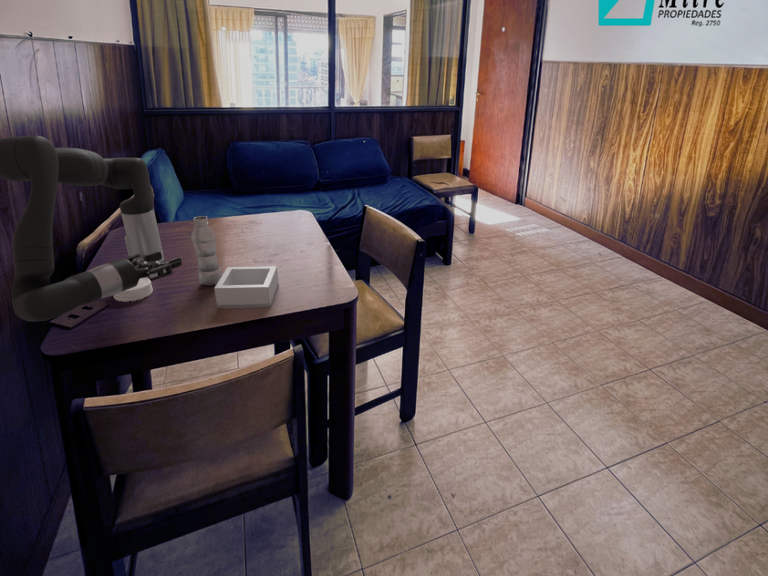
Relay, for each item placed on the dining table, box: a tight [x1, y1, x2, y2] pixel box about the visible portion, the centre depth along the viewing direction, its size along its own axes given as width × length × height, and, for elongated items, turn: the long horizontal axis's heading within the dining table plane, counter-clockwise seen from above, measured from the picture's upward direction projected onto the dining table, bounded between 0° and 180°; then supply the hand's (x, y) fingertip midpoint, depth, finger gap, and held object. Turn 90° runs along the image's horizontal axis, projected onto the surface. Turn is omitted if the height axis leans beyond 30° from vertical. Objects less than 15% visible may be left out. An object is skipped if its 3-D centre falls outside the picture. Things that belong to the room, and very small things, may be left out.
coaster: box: [113, 277, 153, 303], centre depth 135 cm, size 10×10×4 cm
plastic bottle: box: [190, 215, 223, 287], centre depth 138 cm, size 6×7×20 cm
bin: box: [213, 265, 280, 309], centre depth 133 cm, size 14×14×6 cm
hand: (170, 258), depth 128 cm, fingers open, 8 cm apart
